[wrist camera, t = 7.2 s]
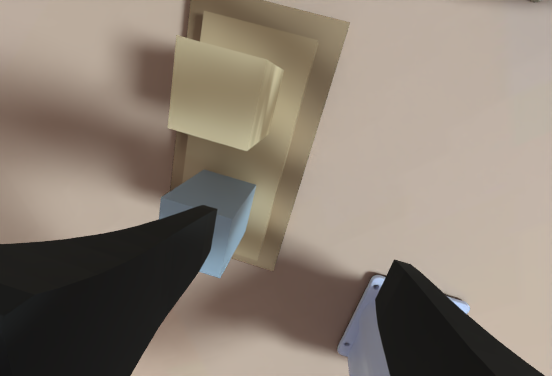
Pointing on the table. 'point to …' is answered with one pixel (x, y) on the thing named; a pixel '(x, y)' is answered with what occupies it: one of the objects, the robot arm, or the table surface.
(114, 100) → the table surface
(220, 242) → the slate block
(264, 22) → the plinth
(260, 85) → the brass block
